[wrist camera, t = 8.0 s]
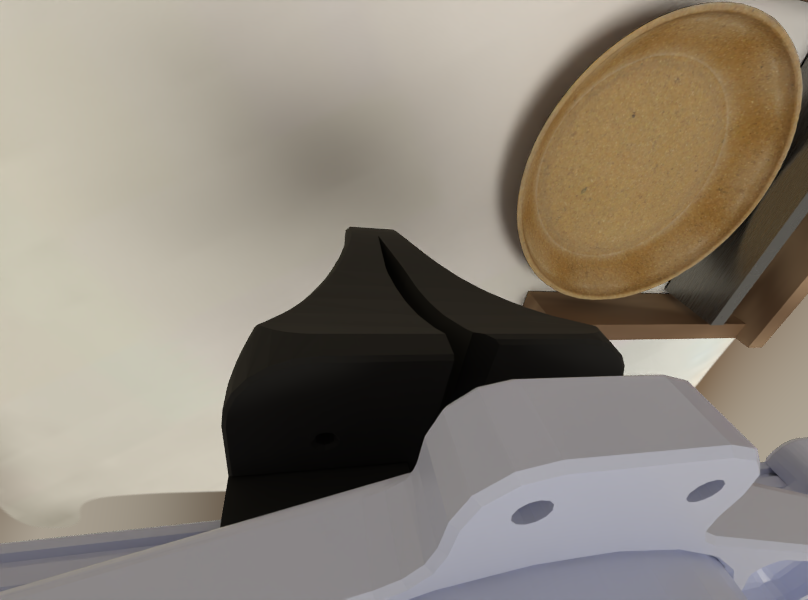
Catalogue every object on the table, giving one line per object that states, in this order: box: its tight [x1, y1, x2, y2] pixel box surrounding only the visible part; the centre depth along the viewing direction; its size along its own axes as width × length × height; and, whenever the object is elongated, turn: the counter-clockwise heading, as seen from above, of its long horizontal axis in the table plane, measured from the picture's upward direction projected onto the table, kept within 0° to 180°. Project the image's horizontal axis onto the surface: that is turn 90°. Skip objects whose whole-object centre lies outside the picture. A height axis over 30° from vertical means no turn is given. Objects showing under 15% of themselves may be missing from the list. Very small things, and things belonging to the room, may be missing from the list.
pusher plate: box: [666, 57, 808, 325], centre depth 22 cm, size 16×1×4 cm, turn 171°
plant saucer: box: [517, 2, 803, 300], centre depth 21 cm, size 15×15×3 cm
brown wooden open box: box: [523, 0, 808, 348], centre depth 22 cm, size 19×16×4 cm
